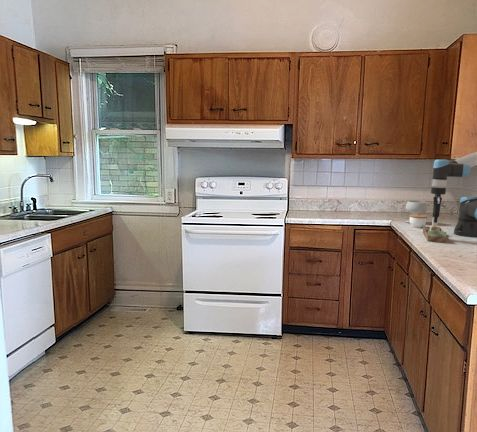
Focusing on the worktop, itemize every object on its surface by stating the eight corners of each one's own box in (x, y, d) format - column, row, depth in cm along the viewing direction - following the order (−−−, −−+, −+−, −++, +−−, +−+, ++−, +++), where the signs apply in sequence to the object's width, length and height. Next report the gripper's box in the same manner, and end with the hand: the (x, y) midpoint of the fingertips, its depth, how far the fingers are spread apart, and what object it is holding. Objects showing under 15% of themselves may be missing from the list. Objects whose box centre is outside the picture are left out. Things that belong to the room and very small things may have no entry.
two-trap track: (438, 233, 258) (439, 224, 257) (445, 242, 232) (446, 231, 231) (422, 232, 260) (423, 223, 259) (427, 241, 235) (428, 230, 234)
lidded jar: (411, 224, 288) (412, 211, 286) (428, 227, 281) (429, 213, 279) (406, 226, 279) (407, 212, 278) (423, 229, 273) (424, 214, 271)
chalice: (418, 225, 287) (420, 203, 285) (400, 221, 299) (402, 200, 297) (430, 223, 295) (432, 202, 293) (412, 220, 307) (414, 200, 304)
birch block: (438, 233, 242) (439, 225, 241) (439, 235, 238) (440, 227, 237) (429, 232, 243) (430, 225, 243) (430, 234, 239) (431, 226, 239)
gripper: (430, 185, 246) (426, 225, 250) (432, 187, 234) (428, 229, 238) (444, 186, 244) (440, 226, 248) (447, 188, 232) (443, 230, 236)
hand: (434, 227), depth 243 cm, fingers closed
